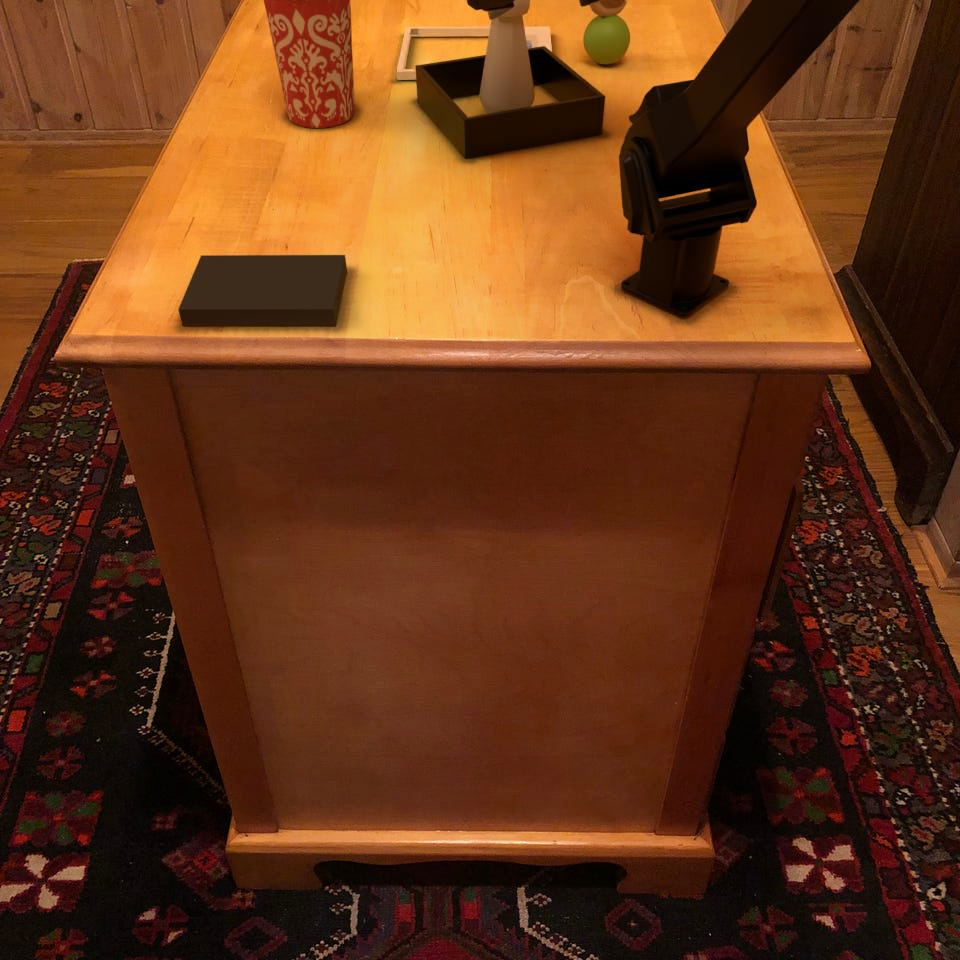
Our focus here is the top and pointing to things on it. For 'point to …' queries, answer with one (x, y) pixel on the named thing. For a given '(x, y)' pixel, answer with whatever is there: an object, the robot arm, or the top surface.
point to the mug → (314, 59)
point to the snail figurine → (607, 32)
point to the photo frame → (533, 35)
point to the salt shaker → (507, 63)
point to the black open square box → (512, 127)
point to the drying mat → (264, 290)
